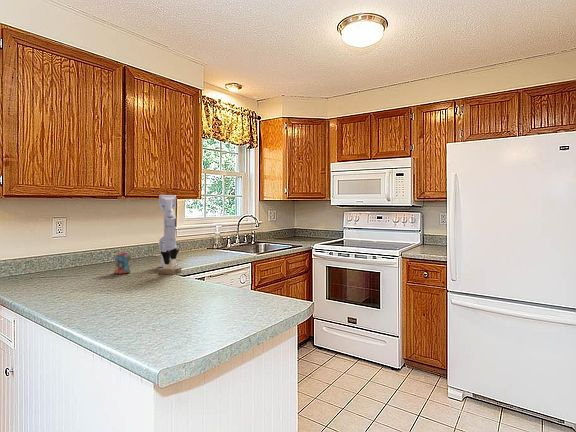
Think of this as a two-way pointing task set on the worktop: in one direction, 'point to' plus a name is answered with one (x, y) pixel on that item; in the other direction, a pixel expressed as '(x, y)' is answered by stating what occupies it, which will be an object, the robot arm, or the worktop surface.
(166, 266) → the cube
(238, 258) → the worktop surface
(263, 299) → the worktop surface
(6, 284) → the worktop surface
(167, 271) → the base slab
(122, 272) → the mug
